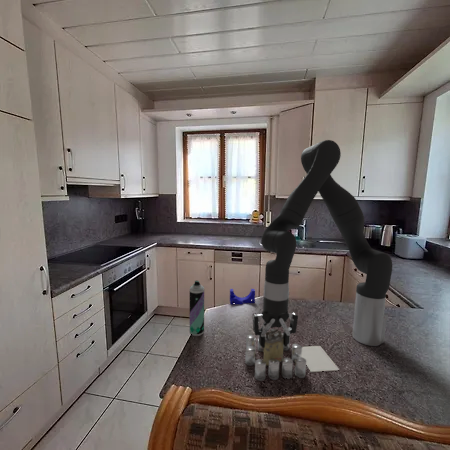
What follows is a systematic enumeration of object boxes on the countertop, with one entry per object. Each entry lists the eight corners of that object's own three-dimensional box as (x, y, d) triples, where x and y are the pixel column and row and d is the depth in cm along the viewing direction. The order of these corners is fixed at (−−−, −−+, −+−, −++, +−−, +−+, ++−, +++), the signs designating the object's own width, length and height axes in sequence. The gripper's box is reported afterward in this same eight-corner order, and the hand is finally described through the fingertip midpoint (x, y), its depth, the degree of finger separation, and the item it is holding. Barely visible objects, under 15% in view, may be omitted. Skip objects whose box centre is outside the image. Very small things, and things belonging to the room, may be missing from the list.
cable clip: (230, 304, 121) (230, 292, 120) (229, 300, 125) (229, 288, 124) (255, 304, 121) (255, 292, 121) (253, 300, 126) (254, 288, 125)
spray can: (186, 331, 96) (186, 281, 93) (198, 326, 100) (198, 277, 97) (195, 337, 92) (195, 284, 89) (207, 332, 96) (207, 281, 93)
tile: (320, 346, 88) (320, 345, 88) (339, 370, 76) (339, 369, 76) (295, 348, 87) (295, 347, 87) (310, 372, 75) (310, 371, 75)
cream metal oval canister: (277, 354, 83) (278, 325, 82) (286, 360, 80) (287, 331, 79) (260, 361, 79) (261, 331, 78) (268, 368, 76) (270, 337, 75)
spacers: (291, 344, 89) (292, 332, 88) (312, 377, 73) (313, 363, 72) (240, 347, 87) (241, 335, 86) (250, 381, 71) (251, 366, 70)
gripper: (294, 289, 82) (291, 337, 84) (250, 290, 80) (248, 339, 82) (303, 299, 74) (300, 351, 76) (255, 300, 73) (254, 354, 75)
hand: (273, 345), depth 79 cm, fingers closed on cream metal oval canister, 6 cm apart
